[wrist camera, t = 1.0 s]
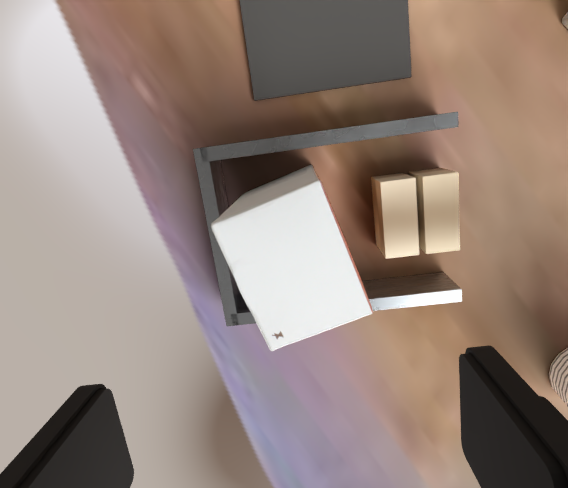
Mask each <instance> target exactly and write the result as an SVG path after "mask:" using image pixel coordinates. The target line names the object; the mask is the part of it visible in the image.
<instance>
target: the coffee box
mask: <svg viewBox="0 0 568 488" xmlns="http://www.w3.org/2000/svg"><path fill="white" fill-rule="evenodd" d="M562 23H563V25H564V26H565V27H566V28H567V29H568V12H567V13H566V14H565V16H564V17H563V18H562Z"/></svg>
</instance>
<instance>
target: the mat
mask: <svg viewBox="0 0 568 488" xmlns="http://www.w3.org/2000/svg"><path fill="white" fill-rule="evenodd" d="M240 6H241V13H242V20H243V26H244V33H245V40H246V47H247V54H248V61H249V67H250V74H251V81H252V88H253V95H254V100H255V101H256V100H263V99H270V98H276V97H283V96H290V95H296V94H303V93H310V92H317V91H323V90H330V89H337V88H343V87H350V86H357V85H364V84H370V83H377V82H384V81H390V80H397V79H404V78H410V77H411V56H410V36H409V15H408V0H240Z"/></svg>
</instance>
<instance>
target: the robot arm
mask: <svg viewBox="0 0 568 488" xmlns="http://www.w3.org/2000/svg"><path fill="white" fill-rule="evenodd" d="M459 373H460V410H461V442H462V448H463V452H464V455H465V457H466V459H467V461H468V463H469V465H470V467H471V469H472V471H473V473H474V475H475V477H476V479H477V480H478V482H479V484H480V486H481V488H568V421H567V419H566V418H565V417H564V416H563V415H562V414H561V413H560V412H559V411H558V410H557V409H556V408H555V407H554V406H553V405H552V404H551V403H550V402H549V401H548V400H547V399H546V398H544V397H541V396H538V395H537V394H536V393H535V392H534V391H533V390H532V388H531V387H530V386H529V385H528V384H527V383H526V382H525V381H524V380H523V379H522V378H521V377H520V376H519V374H518V373H517V372H516V371H515V370H514V369H513V368H512V367H511V366H510V365H509V364H508V363H507V362H506V360H505V359H504V358H503V357H502V356H501V355H500V354H499V353H498V352H497V351H496V350H495V349H494V348H493V347H492V346H481V347H471V348H467V349H466V354H461V355H460V357H459ZM133 476H134V469H133V465H132V461H131V458H130V454H129V451H128V447H127V444H126V441H125V437H124V433H123V429H122V426H121V423H120V419H119V415H118V412H117V409H116V405H115V401H114V397H113V394H112V392H111V390H110V389H106V387H105V386H104V385H103V384H95V385H86V386H80V387H79V388H77V389H76V390H75V391H74V393H73V394H72V395H71V396H70V397H69V398H68V399H67V401H66V402H65V403H64V404H63V405H62V406H61V407H60V408H59V409H58V410H57V412H56V413H55V414H54V415H53V416H52V417H51V418H50V419H49V421H48V422H47V423H46V424H45V425H44V426H43V427H42V428H41V429H40V431H39V432H38V433H37V434H36V435H35V436H34V438H32V439H31V441H30V442H29V443H28V444H27V445H26V446H25V447H24V448H23V450H22V451H21V452H20V453H19V454H18V455H17V456H16V457H15V458H14V460H13V461H12V462H11V463H10V464H9V465H8V466H7V467H6V468H5V470H4V471H3V472H2V473H1V474H0V488H130V486H131V484H132V481H133Z"/></svg>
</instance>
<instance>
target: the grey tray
mask: <svg viewBox="0 0 568 488" xmlns="http://www.w3.org/2000/svg"><path fill="white" fill-rule="evenodd" d="M454 127H458V112H452V113H445V114H438V115H431V116H424V117H417V118H409V119H402V120H395V121H388V122H381V123H374V124H367V125H360V126H353V127H346V128H339V129H332V130H324V131H317V132H310V133H303V134H296V135H289V136H282V137H275V138H268V139H261V140H254V141H247V142H239V143H232V144H225V145H218V146H211V147H204V148H197V149H193V152H194V157H195V162H196V168H197V173H198V178H199V183H200V189H201V194H202V199H203V204H204V210H205V215H206V220H207V225H208V231H209V236H210V241H211V247H212V252H213V257H214V262H215V268H216V273H217V278H218V283H219V289H220V294H221V299H222V304H223V310H224V315H225V320H226V325H227V326H234V325H243V324H253V323H256V321H255V319H254V317H253V315H252V313H251V311H250V310H249V308H248V307H247V305H246V303H245V300H244V299H243V297H242V295H241V293H240V291H239V288H238V286H237V283H236V281H235V279H234V276H233V274H232V272H231V270H230V268H229V266H228V263H227V261H226V259H225V257H224V255H223V253H222V251H221V248H220V246H219V244H218V242H217V240H216V237H215V235H214V233H213V231H212V228H211V223H212V222H214V221H215V220H216V219H217V218H219V217H220V216H221V215H222V214H223V213H224V212H225V211H226V210H227V209H228V208H229V206H228V200H227V194H226V189H225V183H224V177H223V171H222V166H221V160H222V159H230V158H237V157H244V156H251V155H259V154H266V153H273V152H280V151H288V150H295V149H302V148H309V147H316V146H324V145H331V144H338V143H345V142H353V141H360V140H367V139H374V138H382V137H389V136H396V135H403V134H410V133H418V132H425V131H432V130H439V129H447V128H454ZM362 283H363V285H364V288H365V291H366V293H367V296H368V299H369V301H370V304H371V306H372V310H373V311H376V310H385V309H395V308H404V307H414V306H423V305H433V304H442V303H452V302H461V301H462V289H461V288H460V287H459V286H458V285H457V284H456V283H454V282H453V281H452V280H451V279H450V278H449V277H448V276H447V275H446V274H445V273H444V272H439V273H430V274H421V275H412V276H403V277H394V278H385V279H376V280H367V281H362Z"/></svg>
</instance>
